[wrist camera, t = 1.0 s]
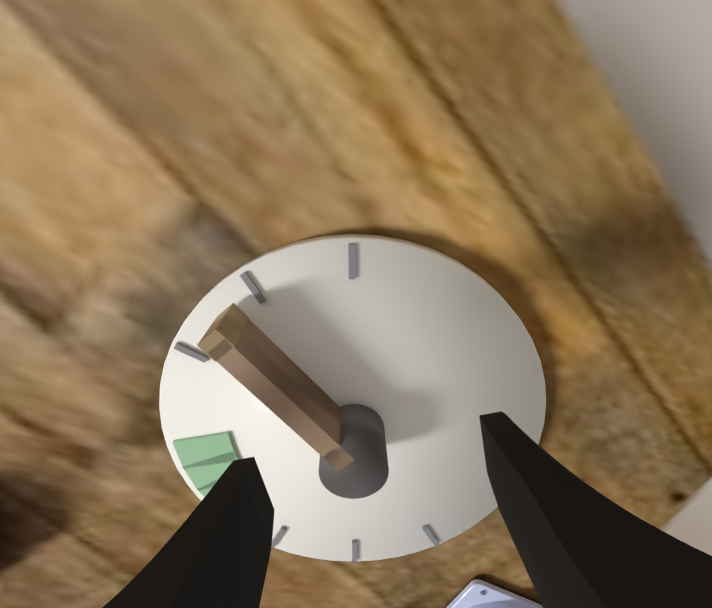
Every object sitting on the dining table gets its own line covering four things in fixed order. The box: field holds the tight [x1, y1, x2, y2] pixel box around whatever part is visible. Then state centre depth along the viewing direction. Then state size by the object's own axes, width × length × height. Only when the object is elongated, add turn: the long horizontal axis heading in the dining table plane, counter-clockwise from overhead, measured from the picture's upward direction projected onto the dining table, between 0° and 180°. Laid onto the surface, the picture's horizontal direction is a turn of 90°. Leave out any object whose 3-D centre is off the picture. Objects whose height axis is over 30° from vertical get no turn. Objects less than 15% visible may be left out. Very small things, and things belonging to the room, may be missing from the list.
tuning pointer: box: [197, 303, 389, 499], centre depth 21 cm, size 11×3×3 cm, turn 40°
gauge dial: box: [159, 234, 546, 562], centre depth 24 cm, size 20×20×1 cm
